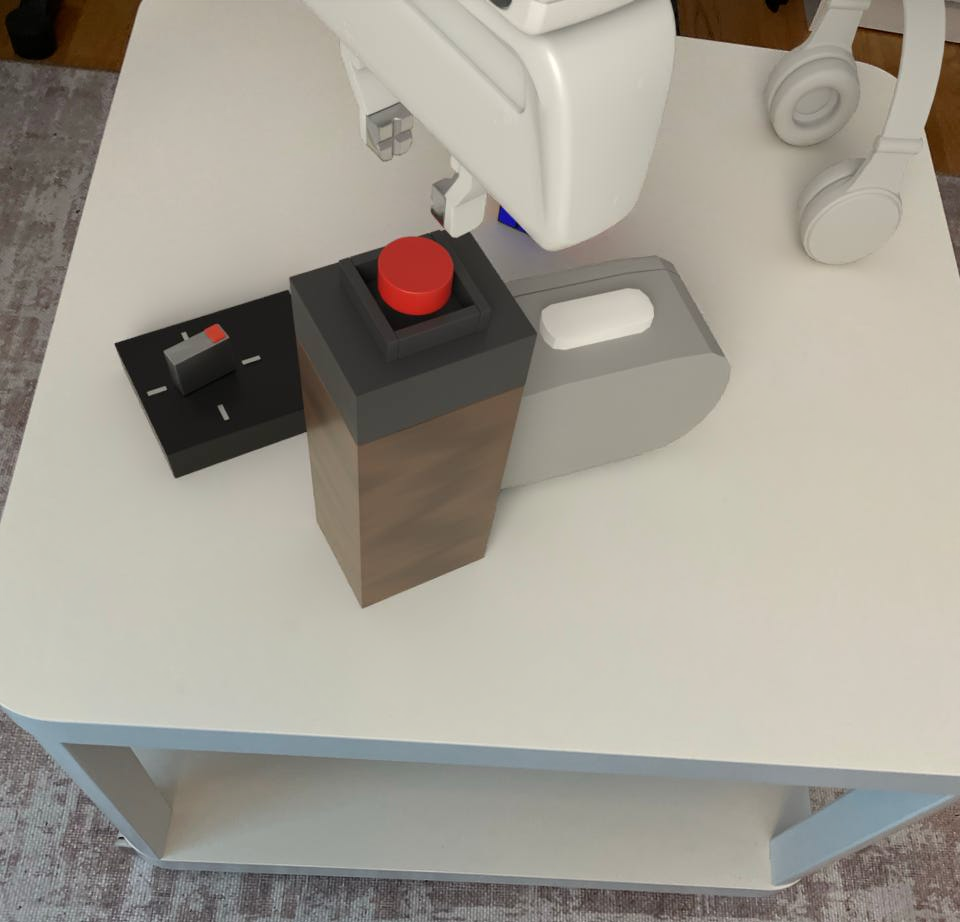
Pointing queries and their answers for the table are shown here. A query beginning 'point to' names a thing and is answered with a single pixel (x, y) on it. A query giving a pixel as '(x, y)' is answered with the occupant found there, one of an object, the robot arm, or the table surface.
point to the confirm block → (410, 341)
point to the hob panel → (222, 386)
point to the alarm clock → (610, 367)
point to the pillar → (406, 489)
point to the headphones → (827, 109)
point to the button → (415, 275)
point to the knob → (200, 359)
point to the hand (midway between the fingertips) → (420, 184)
